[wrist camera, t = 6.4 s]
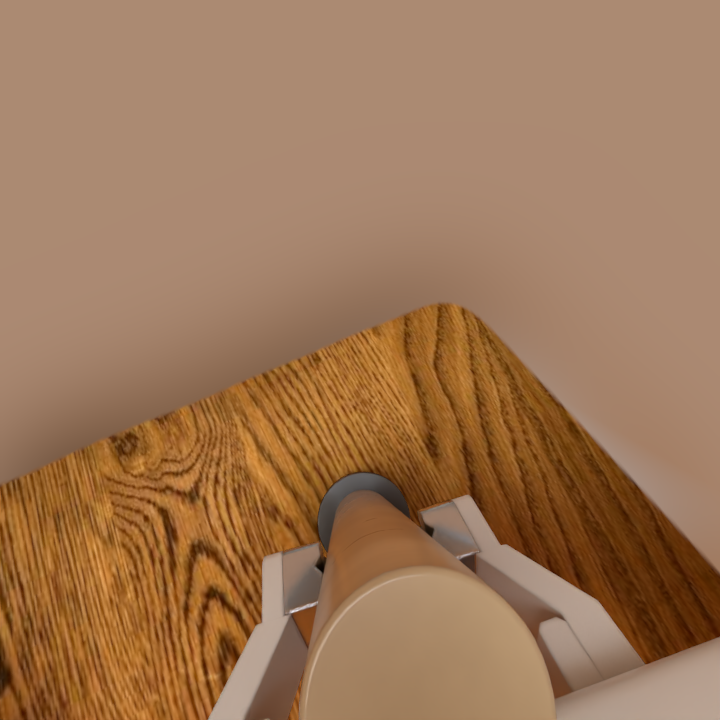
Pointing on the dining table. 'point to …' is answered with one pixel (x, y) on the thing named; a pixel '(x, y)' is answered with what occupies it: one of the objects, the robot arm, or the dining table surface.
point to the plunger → (410, 624)
